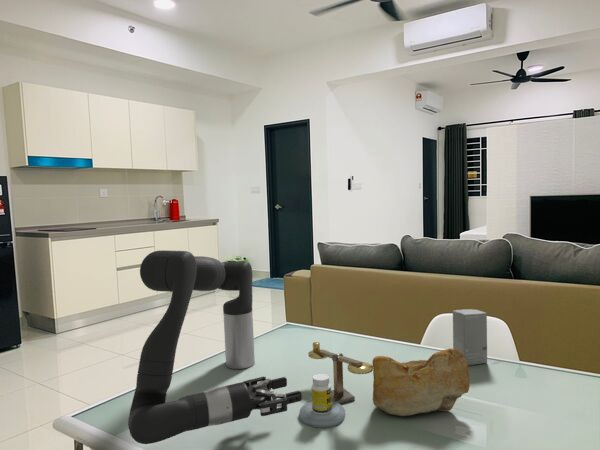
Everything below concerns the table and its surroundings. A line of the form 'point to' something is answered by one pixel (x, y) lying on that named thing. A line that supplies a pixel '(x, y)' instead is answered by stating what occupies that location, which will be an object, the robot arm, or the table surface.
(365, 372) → the balance
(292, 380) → the table surface
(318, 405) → the supplement bottle
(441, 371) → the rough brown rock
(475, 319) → the skincare box
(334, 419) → the dish
